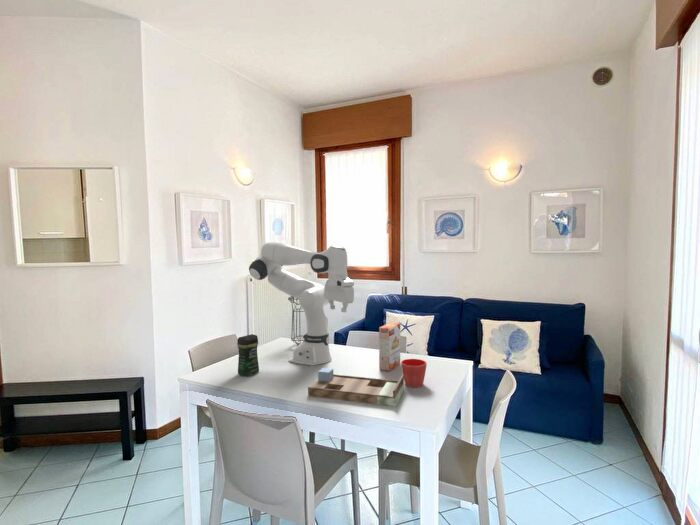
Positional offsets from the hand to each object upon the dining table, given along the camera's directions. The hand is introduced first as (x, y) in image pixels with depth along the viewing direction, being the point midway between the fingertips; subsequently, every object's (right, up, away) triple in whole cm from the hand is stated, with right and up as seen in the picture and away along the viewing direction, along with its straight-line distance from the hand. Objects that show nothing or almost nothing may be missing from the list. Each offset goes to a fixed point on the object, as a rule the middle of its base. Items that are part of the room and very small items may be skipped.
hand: (338, 310), depth 178 cm
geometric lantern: (-22, -28, +55) cm, 66 cm away
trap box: (+8, -31, -20) cm, 38 cm away
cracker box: (+26, -30, +12) cm, 41 cm away
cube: (-5, -28, -12) cm, 31 cm away
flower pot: (+33, -31, -11) cm, 47 cm away
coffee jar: (-43, -31, +6) cm, 54 cm away
